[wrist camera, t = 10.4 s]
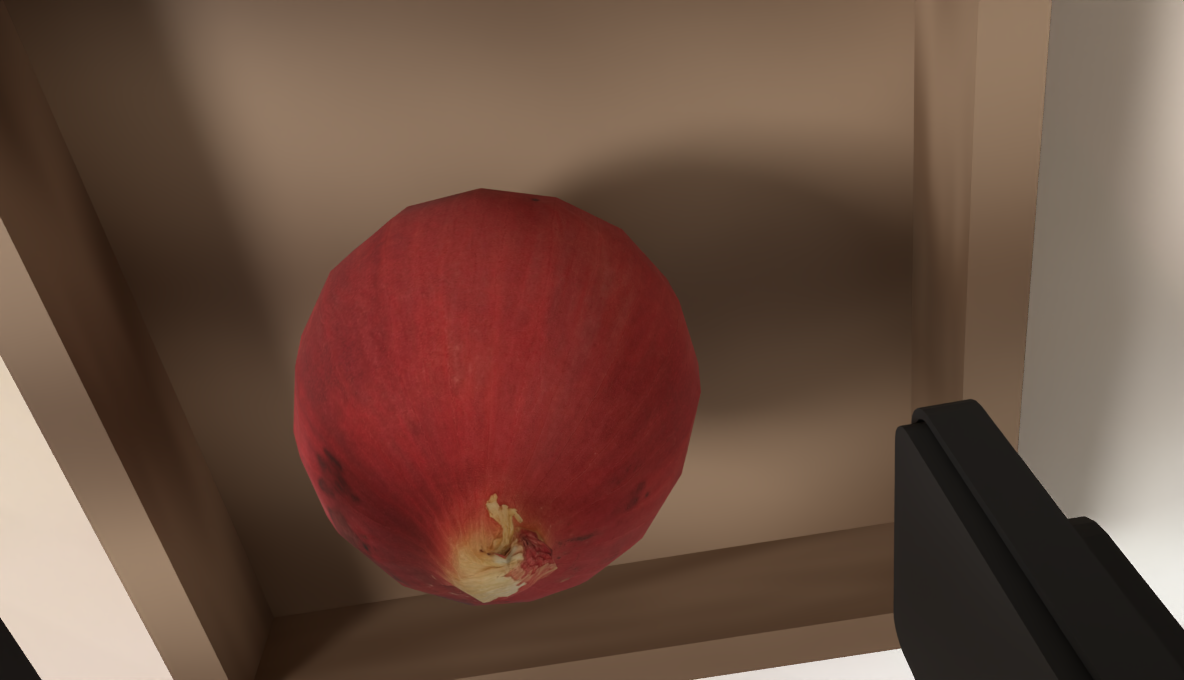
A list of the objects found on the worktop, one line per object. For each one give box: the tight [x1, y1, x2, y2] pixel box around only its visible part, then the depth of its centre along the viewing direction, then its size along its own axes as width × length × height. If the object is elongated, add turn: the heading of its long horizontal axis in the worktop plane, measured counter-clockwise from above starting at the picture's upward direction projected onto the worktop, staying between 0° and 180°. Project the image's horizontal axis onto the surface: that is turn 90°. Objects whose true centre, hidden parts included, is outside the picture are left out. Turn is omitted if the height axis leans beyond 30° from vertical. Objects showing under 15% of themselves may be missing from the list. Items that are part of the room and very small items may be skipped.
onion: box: [293, 188, 701, 606], centre depth 14 cm, size 6×6×8 cm
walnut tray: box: [0, 0, 1052, 680], centre depth 17 cm, size 16×16×4 cm
